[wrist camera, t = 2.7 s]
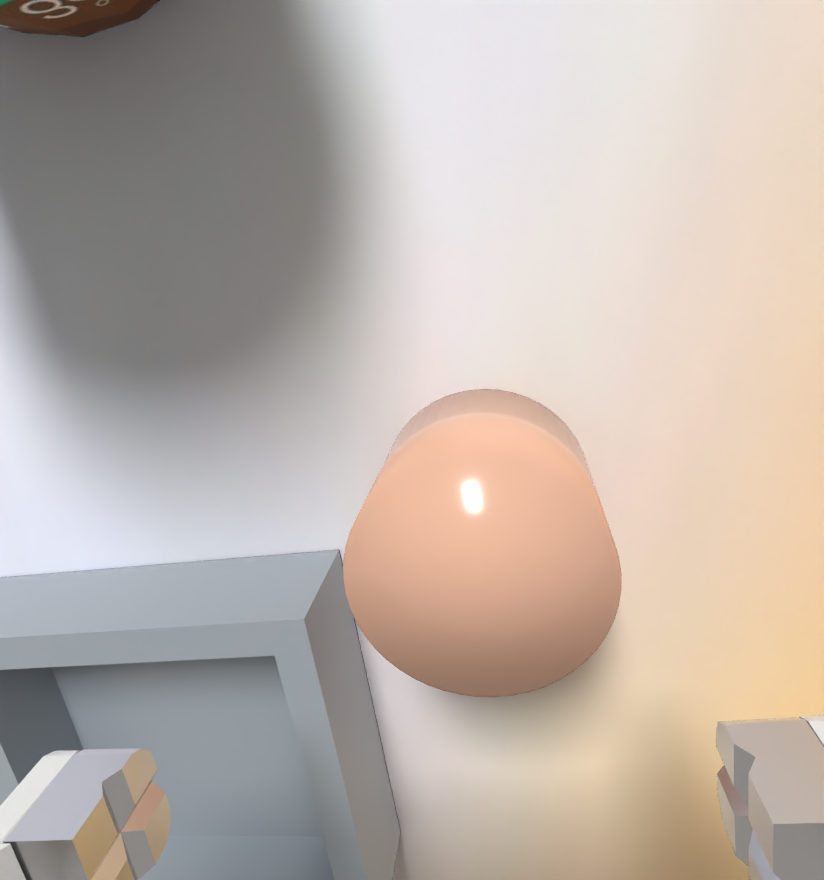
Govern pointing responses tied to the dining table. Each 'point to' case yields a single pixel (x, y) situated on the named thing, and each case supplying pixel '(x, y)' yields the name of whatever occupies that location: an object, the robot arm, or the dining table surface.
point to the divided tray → (210, 707)
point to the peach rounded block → (483, 549)
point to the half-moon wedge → (69, 15)
